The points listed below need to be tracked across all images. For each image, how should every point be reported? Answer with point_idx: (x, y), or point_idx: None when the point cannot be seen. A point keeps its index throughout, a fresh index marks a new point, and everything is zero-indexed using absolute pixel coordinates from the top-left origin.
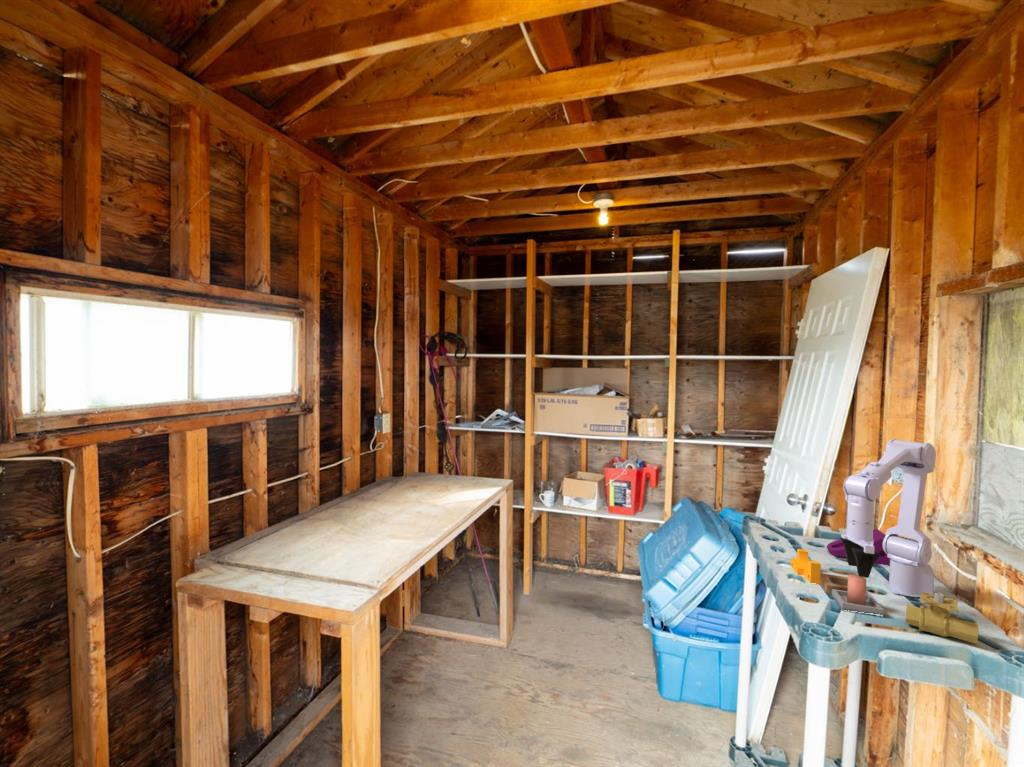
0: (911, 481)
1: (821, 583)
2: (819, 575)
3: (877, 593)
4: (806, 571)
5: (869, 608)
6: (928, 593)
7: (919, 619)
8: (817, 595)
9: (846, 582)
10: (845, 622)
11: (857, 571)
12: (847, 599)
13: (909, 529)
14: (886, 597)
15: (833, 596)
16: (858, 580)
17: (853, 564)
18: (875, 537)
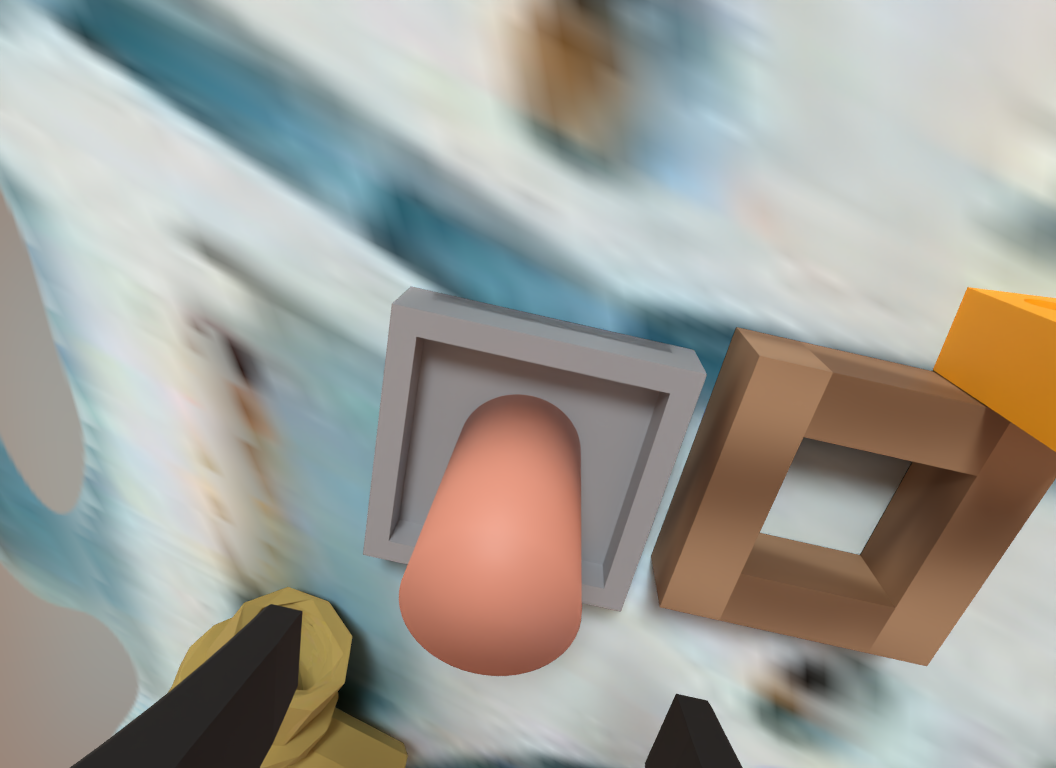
0: None
1: (913, 374)
2: (995, 399)
3: (771, 690)
4: None
5: (372, 474)
6: None
7: (188, 658)
8: (691, 218)
9: (885, 582)
10: (194, 195)
11: (271, 643)
12: (531, 405)
13: None
14: (711, 704)
15: (648, 344)
16: (403, 578)
17: (660, 750)
18: None
